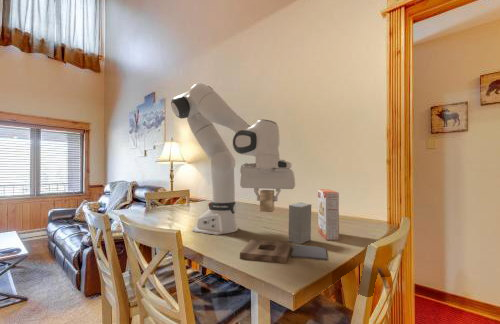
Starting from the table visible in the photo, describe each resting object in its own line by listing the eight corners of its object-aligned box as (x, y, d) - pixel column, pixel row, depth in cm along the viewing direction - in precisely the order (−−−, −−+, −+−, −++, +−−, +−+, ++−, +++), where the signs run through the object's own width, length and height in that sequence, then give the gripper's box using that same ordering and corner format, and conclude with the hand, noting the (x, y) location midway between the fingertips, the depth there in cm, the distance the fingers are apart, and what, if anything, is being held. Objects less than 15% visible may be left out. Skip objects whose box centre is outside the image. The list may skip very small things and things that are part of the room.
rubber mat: (291, 256, 87) (291, 255, 87) (293, 246, 99) (293, 244, 99) (327, 260, 84) (327, 258, 84) (325, 248, 96) (325, 247, 96)
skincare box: (298, 237, 111) (298, 202, 112) (312, 240, 106) (312, 203, 107) (287, 241, 105) (287, 203, 106) (301, 245, 100) (301, 205, 101)
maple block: (259, 211, 90) (260, 190, 90) (262, 209, 94) (262, 189, 94) (272, 212, 89) (272, 191, 89) (274, 210, 93) (274, 190, 93)
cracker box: (317, 232, 121) (317, 188, 121) (330, 232, 120) (329, 189, 121) (325, 240, 107) (325, 191, 107) (339, 240, 106) (339, 191, 107)
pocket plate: (239, 258, 85) (239, 252, 85) (251, 244, 101) (251, 239, 101) (286, 263, 81) (286, 256, 81) (290, 247, 97) (290, 242, 97)
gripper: (238, 163, 91) (237, 200, 91) (294, 163, 86) (294, 203, 86) (242, 163, 97) (242, 198, 97) (295, 163, 92) (295, 200, 92)
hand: (267, 200), depth 91 cm, fingers closed on maple block, 4 cm apart
